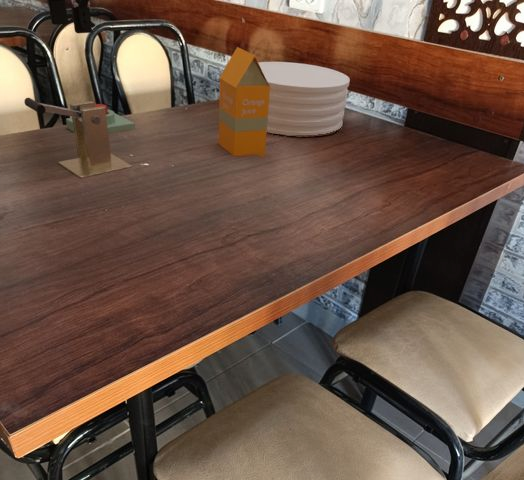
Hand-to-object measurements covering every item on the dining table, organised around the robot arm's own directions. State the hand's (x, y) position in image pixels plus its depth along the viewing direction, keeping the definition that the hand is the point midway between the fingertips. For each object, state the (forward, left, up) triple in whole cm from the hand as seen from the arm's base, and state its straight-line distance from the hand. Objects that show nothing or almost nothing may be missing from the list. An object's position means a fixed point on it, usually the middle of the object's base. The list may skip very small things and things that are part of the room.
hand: (71, 28), depth 96 cm
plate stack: (+54, -9, -22) cm, 59 cm away
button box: (+7, +7, -22) cm, 24 cm away
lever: (-11, -14, -12) cm, 21 cm away
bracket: (-6, -14, -22) cm, 26 cm away
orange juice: (+26, -21, -22) cm, 40 cm away
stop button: (+7, +7, -18) cm, 21 cm away
